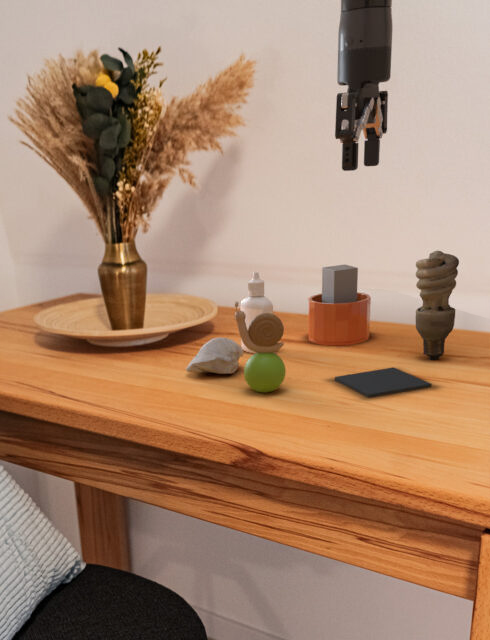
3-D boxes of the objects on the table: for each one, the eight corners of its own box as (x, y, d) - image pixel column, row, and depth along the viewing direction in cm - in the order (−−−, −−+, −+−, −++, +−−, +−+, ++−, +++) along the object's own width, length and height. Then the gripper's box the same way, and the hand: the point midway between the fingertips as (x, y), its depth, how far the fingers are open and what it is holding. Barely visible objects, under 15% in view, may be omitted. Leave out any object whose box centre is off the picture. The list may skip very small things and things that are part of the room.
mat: (393, 371, 116) (393, 367, 115) (431, 388, 108) (431, 383, 107) (334, 381, 114) (334, 376, 113) (368, 398, 106) (368, 394, 105)
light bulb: (422, 366, 117) (429, 255, 110) (403, 357, 121) (408, 250, 115) (459, 361, 118) (468, 250, 111) (438, 352, 122) (446, 246, 116)
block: (343, 330, 136) (345, 264, 132) (356, 335, 133) (358, 267, 128) (321, 334, 135) (322, 267, 131) (333, 339, 132) (334, 270, 127)
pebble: (242, 380, 117) (241, 345, 115) (184, 382, 118) (182, 347, 116) (244, 363, 125) (243, 330, 123) (190, 365, 126) (188, 332, 124)
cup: (350, 329, 139) (351, 289, 137) (380, 340, 131) (381, 298, 128) (298, 336, 137) (298, 296, 135) (325, 349, 129) (326, 306, 126)
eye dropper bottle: (247, 356, 128) (245, 276, 123) (239, 348, 133) (237, 270, 128) (275, 353, 129) (274, 273, 124) (266, 345, 134) (265, 268, 129)
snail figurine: (237, 387, 114) (234, 298, 109) (284, 385, 114) (284, 295, 109) (236, 399, 110) (233, 306, 105) (286, 397, 109) (285, 303, 104)
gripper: (371, 42, 113) (366, 171, 120) (407, 45, 124) (401, 163, 131) (319, 48, 117) (318, 173, 124) (358, 50, 128) (355, 165, 135)
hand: (360, 168), depth 127 cm, fingers open, 8 cm apart
